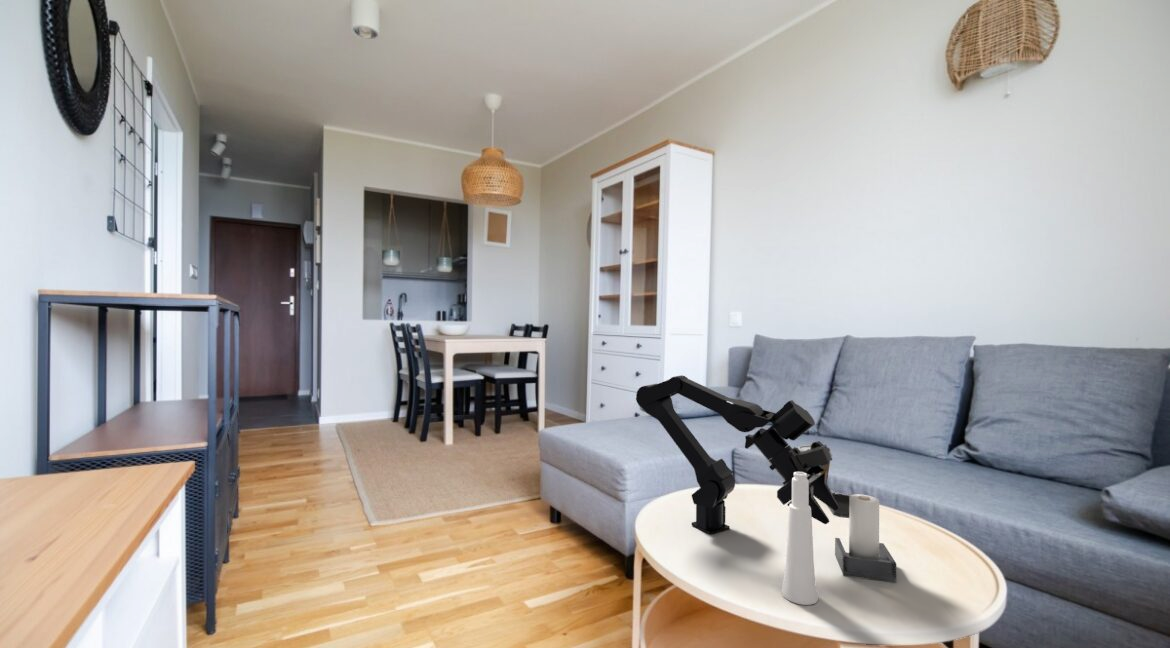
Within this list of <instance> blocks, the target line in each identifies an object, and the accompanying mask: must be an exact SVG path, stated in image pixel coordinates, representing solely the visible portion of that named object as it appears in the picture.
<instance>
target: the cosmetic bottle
mask: <svg viewBox="0 0 1170 648" xmlns="http://www.w3.org/2000/svg"><path fill="white" fill-rule="evenodd" d="M806 477H807V474H806V473H804V472H794V477H793V478H792V500H791V501H792V503H791V504H790V505H789V506H788V517H787V518H788V521H787V535H786V536H787V537H786V554H785V565H784V572H783V573H784V574H783V581H782V586H781V595H782V596H783V597H784V598H785V599H786V600H788V601H789V602H791V603H794V604H798V605H801V606H811V605H815V604H816V603H817V602H818V601H819V596H818V595H819V594H818V591H817V589H818V588H817V582H816V575H815V563H814V544H813V543H814V542H813V540H814V537H813V522H812V521H813V517H812V516H811V507H810V506H809V481H808V479H807V478H806Z"/></svg>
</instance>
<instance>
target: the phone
mask: <svg viewBox="0 0 1170 648" xmlns="http://www.w3.org/2000/svg"><path fill="white" fill-rule="evenodd" d="M832 495H833V496H834V498H835V500H836V502H837V504H838V506H839V508H838V509H837V510H833V509H832V508H830V507H829V506H827V508H828V509H829V511H830V512H831V514H832V516H836V517H842V518H849V497H850V495H849V494H848V495H847V494H838V493H836V494H835V493H832Z"/></svg>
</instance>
